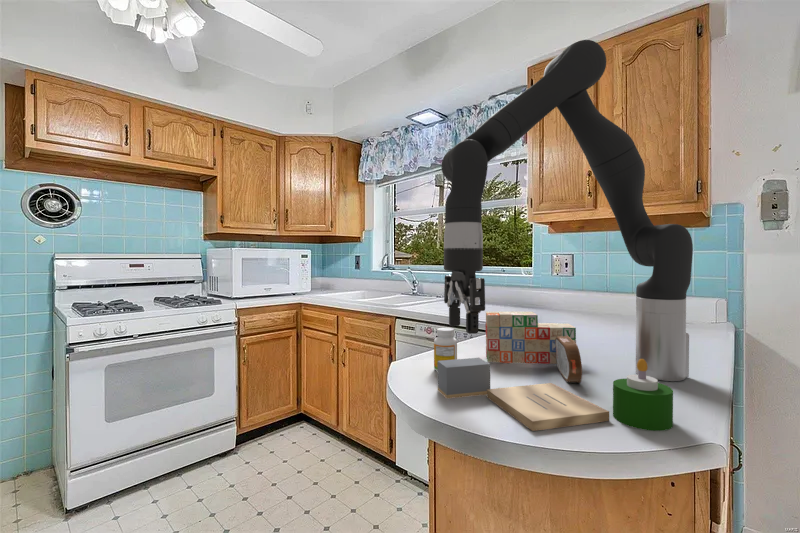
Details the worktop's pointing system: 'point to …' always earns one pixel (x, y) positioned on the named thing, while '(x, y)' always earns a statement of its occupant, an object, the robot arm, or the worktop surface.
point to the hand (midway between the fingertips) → (462, 329)
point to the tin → (568, 359)
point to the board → (546, 406)
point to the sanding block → (463, 377)
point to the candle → (643, 401)
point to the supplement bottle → (444, 346)
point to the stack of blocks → (523, 338)
